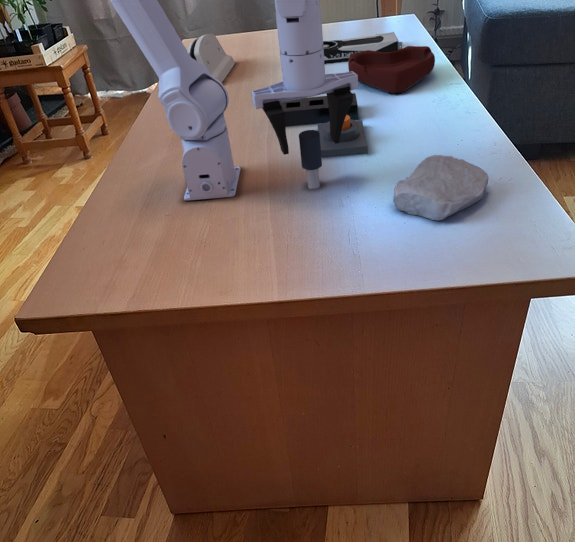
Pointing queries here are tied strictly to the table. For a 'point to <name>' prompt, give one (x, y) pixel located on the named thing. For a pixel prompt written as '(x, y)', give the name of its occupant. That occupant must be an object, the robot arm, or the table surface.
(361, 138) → the station
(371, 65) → the ashtray
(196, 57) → the hinge
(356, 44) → the graphics card
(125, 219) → the table surface
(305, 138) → the grey and white cylinder
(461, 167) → the stone block
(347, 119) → the power button
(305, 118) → the holder
